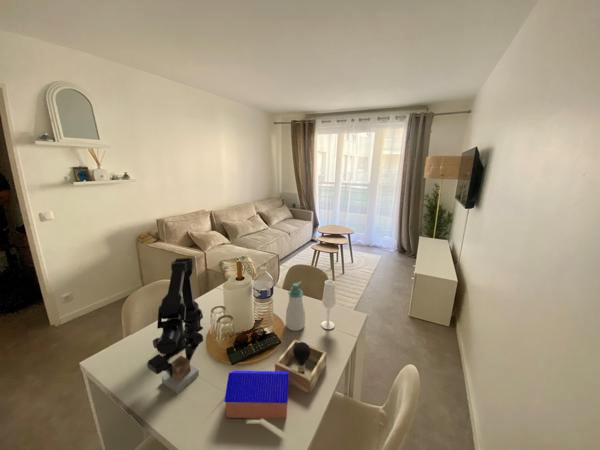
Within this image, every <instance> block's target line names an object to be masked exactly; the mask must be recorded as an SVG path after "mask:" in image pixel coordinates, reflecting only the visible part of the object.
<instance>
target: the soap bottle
mask: <svg viewBox="0 0 600 450" xmlns="http://www.w3.org/2000/svg"><path fill="white" fill-rule="evenodd" d="M302 283H303V282H302V281H298V282H295V283H292V287H291V288H290V290H289V291H288V293H287V294H288V304H287V307H286V310H285V325H286V328H288V330H290V331H293V332H294V331H296V332H297V331H300V330H302V329H304V328H305V326H306V325H305V324H306V312H305V307H304V302H303V295H304V291H303V290H302V289H301V287H300V285H301V284H302Z"/></svg>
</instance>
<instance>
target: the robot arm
mask: <svg viewBox="0 0 600 450" xmlns="http://www.w3.org/2000/svg"><path fill="white" fill-rule="evenodd" d="M195 264H196V262H195V259H194V258H192V257H182V258H180V257H179V258H175V260H173V261H171V262H170V266H171V267H170V269H171V275H170V280H169V284H168V285H169V286H168V290H167V294H166V295H165V296H164V297H163V298H162V300H161V304H160V305H159V307H158V312H157V326H156V328H157V329H162V332H161V335H160V336H159V337H156V338H154V339H153V340H152V345H153V348H154V349H156V350H157V352H158V354H157V355H155V356H153V357H151V358H150V359H149V360H148V361H147V363H146V364H147V365H146V366H147V369H149V370H150V371H152V372H153V373H154V374H155V375H159V374H161V373H162V372H166V374H167V373H168V375H169V376H170V377H172V374H173V371H172V364H170V363H171V362H170V360H171V359H173V358H174V357H175V356H177V355H178V354H179V353H181V352H183V350H185V353H184V354H185V358H186V359H188V360H189V361H190V362H191V360H192V358H193V356H194V353H195V351H196V350H197V348H199V344H201V343H202V342H204V336H203V334H202V333H200V331H202V330H203V329H204V328H203V326H202V324H201V321H202V319H203V318H204V316H203V311H202V310H201V308H200V307H199V306H200V305H199V303H198V302H197V301H196V300H195V297H194V296H195V295H194V290H193V281H192V275H193V272H194V269H195V267H196V265H195ZM163 320H164V321H163ZM162 355H163V356H162Z"/></svg>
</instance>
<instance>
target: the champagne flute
mask: <svg viewBox="0 0 600 450" xmlns="http://www.w3.org/2000/svg"><path fill="white" fill-rule="evenodd" d="M335 283H336V282H335V281H334V280H331V279H327V280H325V281H324V286H323V292H322V300H321V303H322V305H323V307H324V308H326V311H327V312H326V320H324V321H322V322H321V327H322V329H326V330H331V329H334V328H335V323H334V322H332V321H331V320H330V309H332V308H334V307H335V305H336V286H335Z"/></svg>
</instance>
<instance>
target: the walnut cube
mask: <svg viewBox="0 0 600 450" xmlns="http://www.w3.org/2000/svg"><path fill="white" fill-rule="evenodd" d="M169 363H170V364H172V371H173V374H172V377H173V378H175V379H176V380H178V381H180V380H181V379H182V378H183V377H184V376H186V375H187V374H188V373H189V372H190V371H191V369H190V365H191V360H190V361H189V360H188V359H186V356H183V355H179V356H178V357H176V358H175V359H174V360H173V361H171V362H169Z"/></svg>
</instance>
